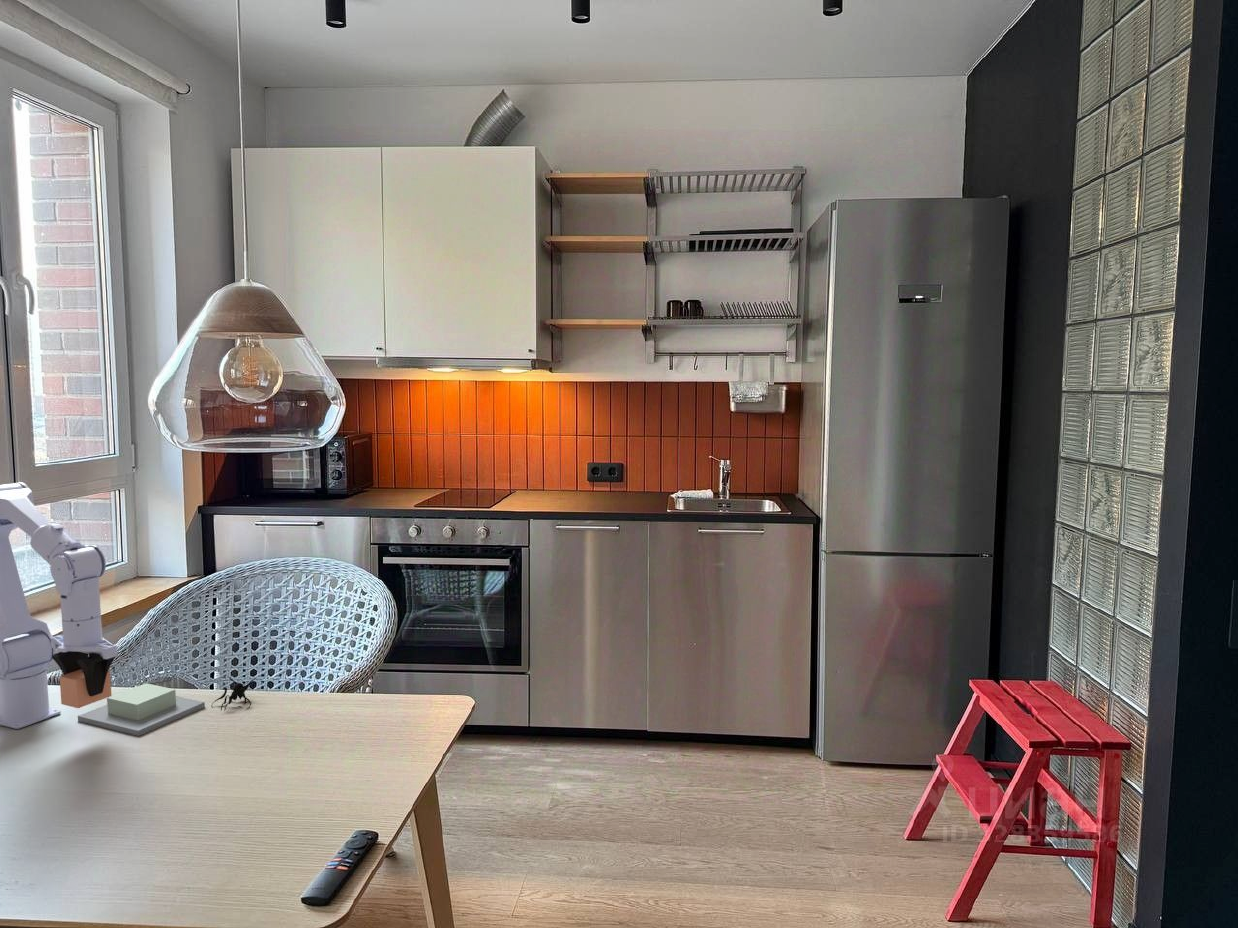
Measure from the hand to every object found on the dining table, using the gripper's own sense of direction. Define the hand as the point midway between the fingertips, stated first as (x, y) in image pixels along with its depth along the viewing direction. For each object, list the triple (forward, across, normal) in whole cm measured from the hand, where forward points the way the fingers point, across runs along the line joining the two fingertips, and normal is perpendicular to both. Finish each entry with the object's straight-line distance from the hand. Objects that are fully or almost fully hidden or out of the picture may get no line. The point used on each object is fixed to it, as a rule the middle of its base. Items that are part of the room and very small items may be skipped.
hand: (86, 691), depth 145 cm
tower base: (+8, -1, +11) cm, 14 cm away
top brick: (+1, 0, 0) cm, 1 cm away
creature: (+9, +11, +21) cm, 25 cm away
